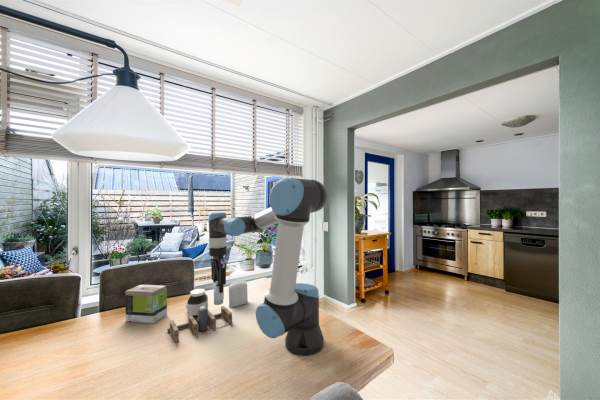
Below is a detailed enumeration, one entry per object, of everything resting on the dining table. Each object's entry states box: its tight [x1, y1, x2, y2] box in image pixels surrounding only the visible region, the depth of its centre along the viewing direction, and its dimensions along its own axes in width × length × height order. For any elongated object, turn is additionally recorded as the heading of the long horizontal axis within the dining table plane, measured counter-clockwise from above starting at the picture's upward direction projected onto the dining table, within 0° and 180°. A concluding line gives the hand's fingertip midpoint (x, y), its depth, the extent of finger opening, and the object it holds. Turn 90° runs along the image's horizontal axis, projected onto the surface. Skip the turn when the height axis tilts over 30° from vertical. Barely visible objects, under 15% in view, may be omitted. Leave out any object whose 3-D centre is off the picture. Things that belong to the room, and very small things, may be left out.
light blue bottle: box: [213, 280, 224, 306], centre depth 113 cm, size 4×4×10 cm
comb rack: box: [166, 305, 233, 344], centre depth 111 cm, size 11×26×5 cm, turn 128°
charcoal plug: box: [197, 306, 209, 334], centre depth 109 cm, size 4×4×10 cm
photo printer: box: [228, 280, 249, 308], centre depth 135 cm, size 10×4×12 cm, turn 127°
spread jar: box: [185, 288, 209, 319], centre depth 125 cm, size 12×11×12 cm
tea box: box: [124, 284, 168, 324], centre depth 121 cm, size 15×10×15 cm, turn 80°
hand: (218, 297), depth 113 cm, fingers closed on light blue bottle, 3 cm apart
